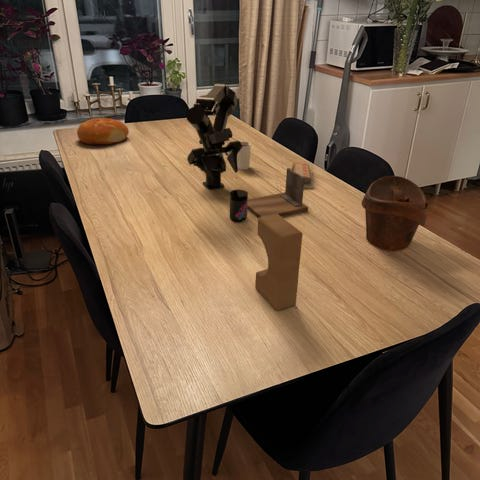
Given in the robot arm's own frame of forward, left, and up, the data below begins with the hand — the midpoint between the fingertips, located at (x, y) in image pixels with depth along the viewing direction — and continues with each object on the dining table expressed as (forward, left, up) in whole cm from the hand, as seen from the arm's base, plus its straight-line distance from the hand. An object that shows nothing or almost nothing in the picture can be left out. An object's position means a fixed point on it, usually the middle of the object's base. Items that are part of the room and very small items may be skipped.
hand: (225, 175), depth 149 cm
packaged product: (-13, +39, -13) cm, 43 cm away
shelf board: (+6, +16, -12) cm, 21 cm away
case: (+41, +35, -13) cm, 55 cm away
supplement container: (+8, +1, -13) cm, 15 cm away
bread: (-95, -20, -13) cm, 98 cm away
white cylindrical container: (-34, +24, -13) cm, 44 cm away
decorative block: (+50, -10, -13) cm, 52 cm away
